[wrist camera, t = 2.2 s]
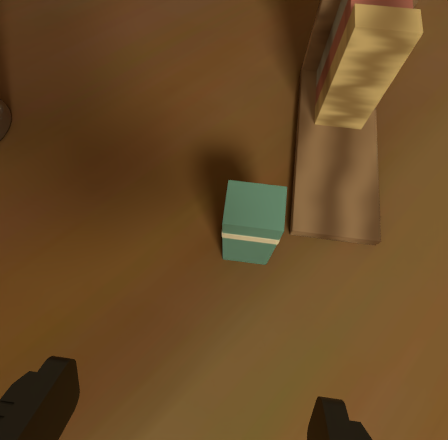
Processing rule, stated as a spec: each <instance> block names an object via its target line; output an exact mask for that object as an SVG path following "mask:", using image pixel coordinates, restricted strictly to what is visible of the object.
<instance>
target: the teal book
mask: <svg viewBox="0 0 448 440" xmlns="http://www.w3.org/2000/svg"><path fill="white" fill-rule="evenodd" d="M286 196H287V187H284V186H275V185H267V184H259V183H250V182H242V181H233V180H228V187H227V194H226V201H225V208H224V215H223V222H222V240H223V259H226V260H234V261H241V262H249V263H256V264H264V265H266V264H267V262H268V260H269V258H270V256H271V254H272V252H273V251H274V249H275V247H276V245H278V243H279V241H280V238H281V236H282V234H283V232H284V223H285V209H286Z"/></svg>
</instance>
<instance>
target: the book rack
mask: <svg viewBox="0 0 448 440" xmlns="http://www.w3.org/2000/svg"><path fill="white" fill-rule="evenodd" d="M417 2H418V0H320V3H319V7H318V10H317V14H316V17H315V21H314V24H313V28H312V31H311V35H310V39H309V42H308V46H307V49H306V53H305V56H304V60H303V63H302V67H301V72H300V88H299V103H298V118H297V133H296V149H295V164H294V179H293V195H292V210H291V225H290V235H297V236H305V237H313V238H321V239H329V240H337V241H345V242H353V243H361V244H369V245H376V244H378V243H380V242H381V230H380V204H379V177H378V151H377V125H376V106H377V104H378V102H379V101H380V99H381V98H382V96H383V95H384V93H385V92H386V90H387V88H388V87H389V85H390V84H391V82H392V81H393V79H394V78H395V76H396V74H397V73H398V71H399V70H400V68H401V67H402V65H403V64H404V62H405V60H406V59H407V57H408V56H409V54H410V53H411V51H412V50H413V48H414V46H415V45H416V43H417V42H418V40H419V39H420V37H421V36H422V34H423V28H422V19H421V10H420V9H414V7H415V5H416V4H417Z"/></svg>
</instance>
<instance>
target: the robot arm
mask: <svg viewBox="0 0 448 440" xmlns="http://www.w3.org/2000/svg"><path fill="white" fill-rule="evenodd" d="M10 123H11V113H10V110H9V108H8V106H7V105H6V104H5V103H4V102H3V101H2V100H1V99H0V140H1V139H2V138H3V136H4V135H5V134H6V132H7V131H8V129H9V126H10ZM79 393H80V388H79V381H78V373H77V366H76V361H75V360H74V359H69V358H63V357H56V356H51V357H49V358H48V359H47V360H46V361H45V362H44V364H43V365H42V366H41V368H40V369H39V371H38V372H32V371H29V372H28V373H26V374H25V375H24V376H22V377H21V378H20V379H18V380H17V381H16V382H14V383H13V384H12V385H11V386H10V388H9V389H8V390H7V391H6V393H5V394H4V395H3V396H2V398H1V399H0V440H58V439H59V438H60V436H61V434H62V432H63V430H64V428H65V427H66V425H67V423H68V421H69V419H70V417H71V416H72V414H73V412H74V410H75V408H76V405H77V402H78V399H79ZM307 440H372V439H371V437H370V436H369V434H368V433H367V431H366V430H365V428H364V427H363V425H362V424H361V422H356V421H349V417H348V413H347V410H346V406H345V403H344V402H343V400H339V399H333V398H326V397H318V398H317V400H316V403H315V406H314V409H313V413H312V416H311V419H310V422H309V426H308V432H307Z"/></svg>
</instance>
